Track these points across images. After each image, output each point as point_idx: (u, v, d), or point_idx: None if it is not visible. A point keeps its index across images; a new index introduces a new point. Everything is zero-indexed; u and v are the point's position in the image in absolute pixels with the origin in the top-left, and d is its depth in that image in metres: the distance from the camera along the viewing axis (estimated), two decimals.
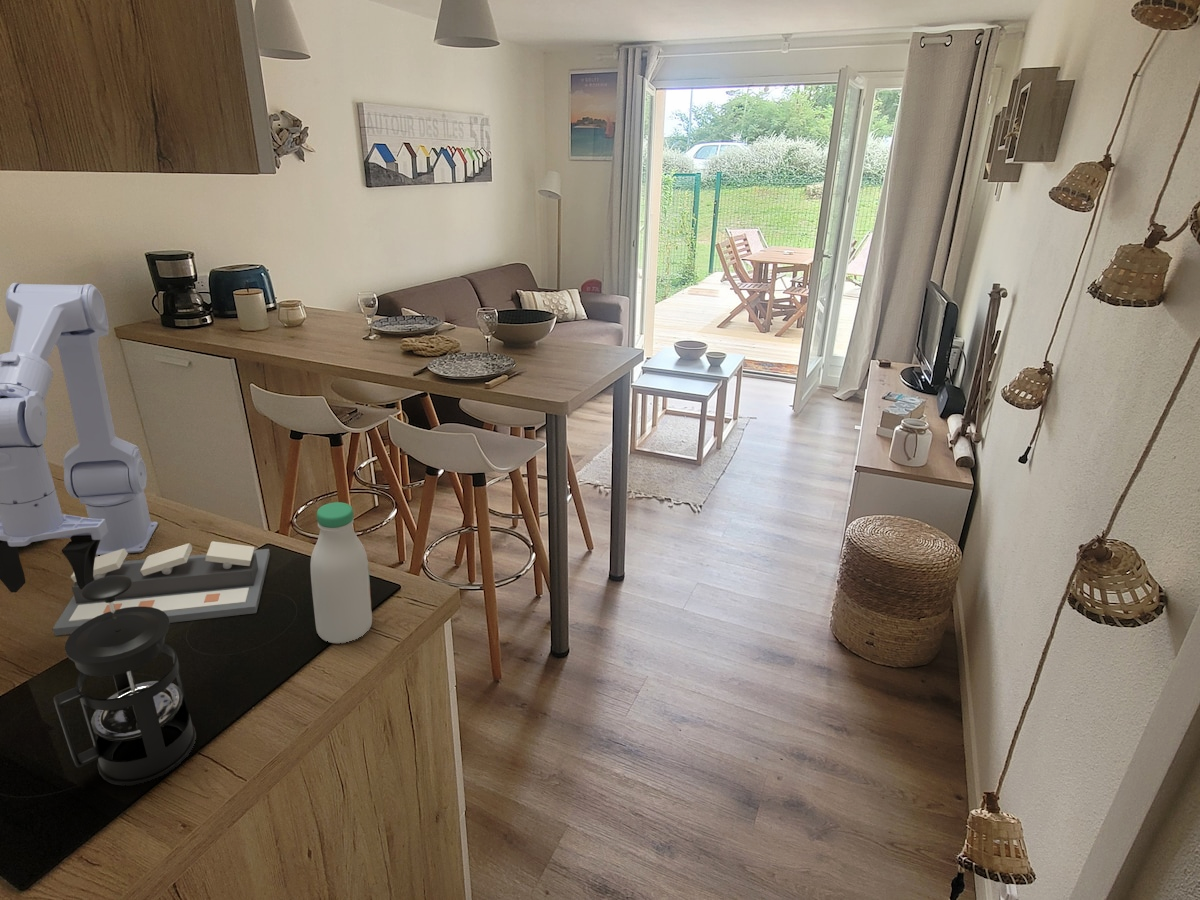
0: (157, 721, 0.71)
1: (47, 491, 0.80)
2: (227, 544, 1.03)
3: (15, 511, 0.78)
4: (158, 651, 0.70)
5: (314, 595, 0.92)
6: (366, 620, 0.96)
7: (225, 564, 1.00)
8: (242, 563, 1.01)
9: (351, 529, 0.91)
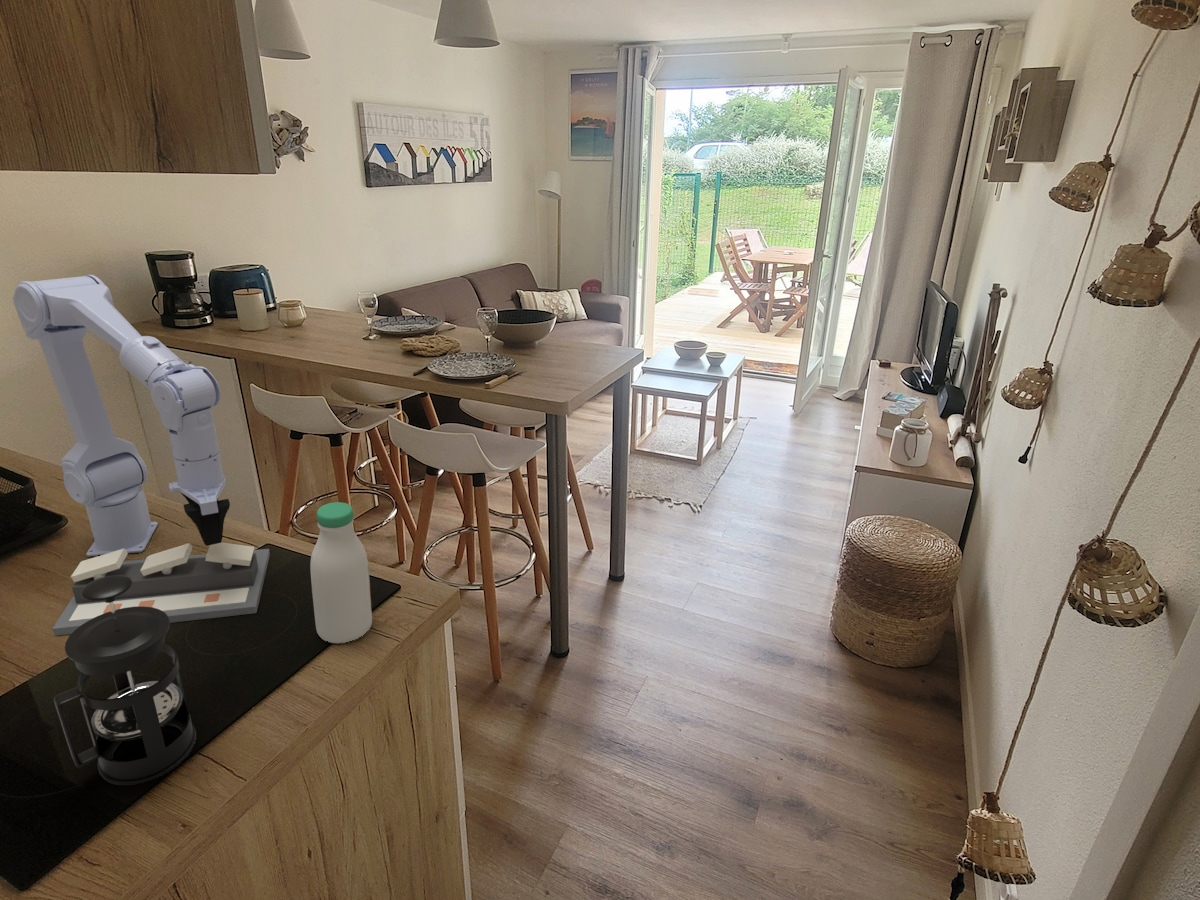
0: (157, 721, 0.71)
1: None
2: (227, 544, 1.03)
3: (174, 463, 0.93)
4: (158, 651, 0.70)
5: (314, 595, 0.92)
6: (366, 620, 0.96)
7: (225, 564, 1.00)
8: (242, 563, 1.01)
9: (351, 529, 0.91)
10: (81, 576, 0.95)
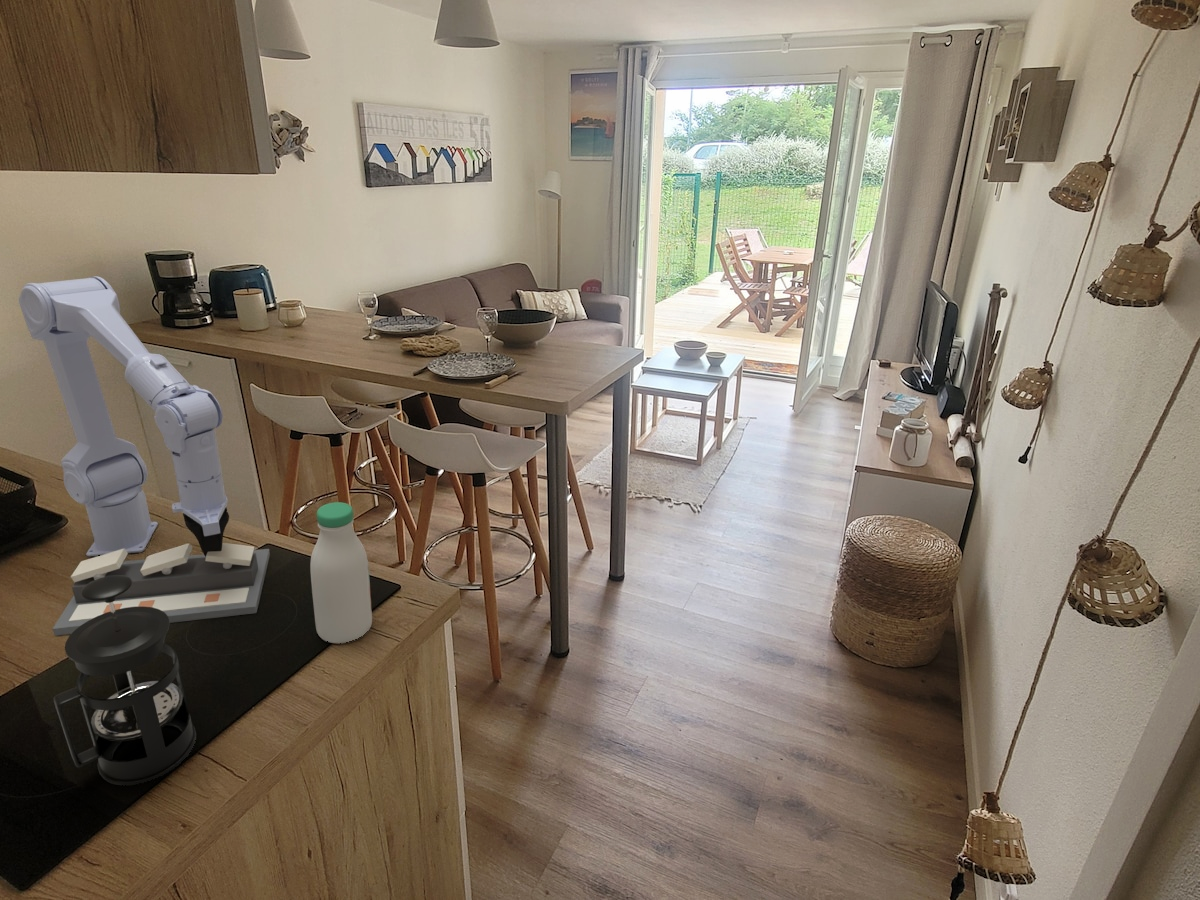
0: (157, 721, 0.71)
1: None
2: (227, 544, 1.03)
3: (177, 484, 0.94)
4: (158, 651, 0.70)
5: (314, 595, 0.92)
6: (366, 620, 0.96)
7: (225, 564, 1.00)
8: (242, 563, 1.01)
9: (351, 529, 0.91)
10: (81, 576, 0.95)
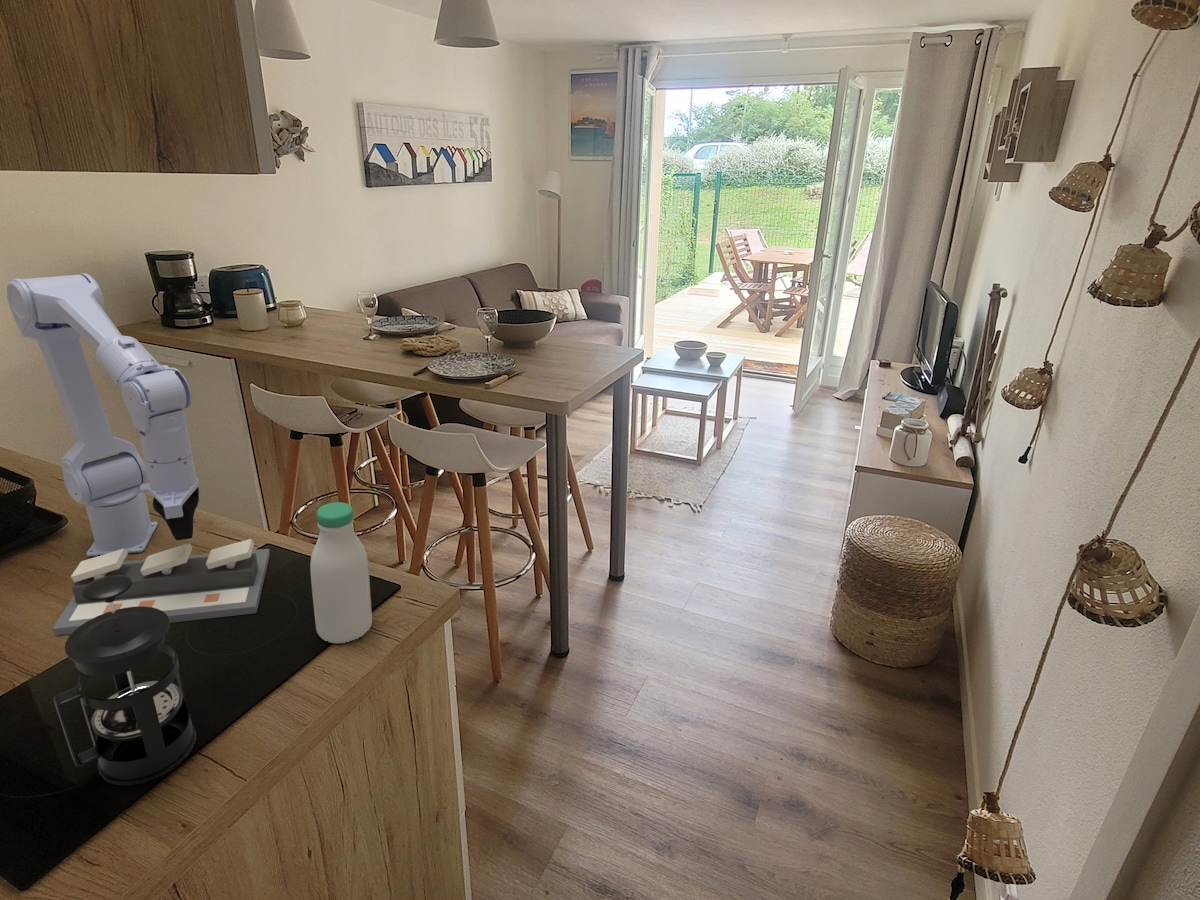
0: (157, 721, 0.71)
1: None
2: (225, 546, 1.03)
3: None
4: (158, 651, 0.70)
5: (314, 595, 0.92)
6: (366, 620, 0.96)
7: (228, 565, 1.01)
8: (242, 557, 1.01)
9: (351, 529, 0.91)
10: (81, 576, 0.95)
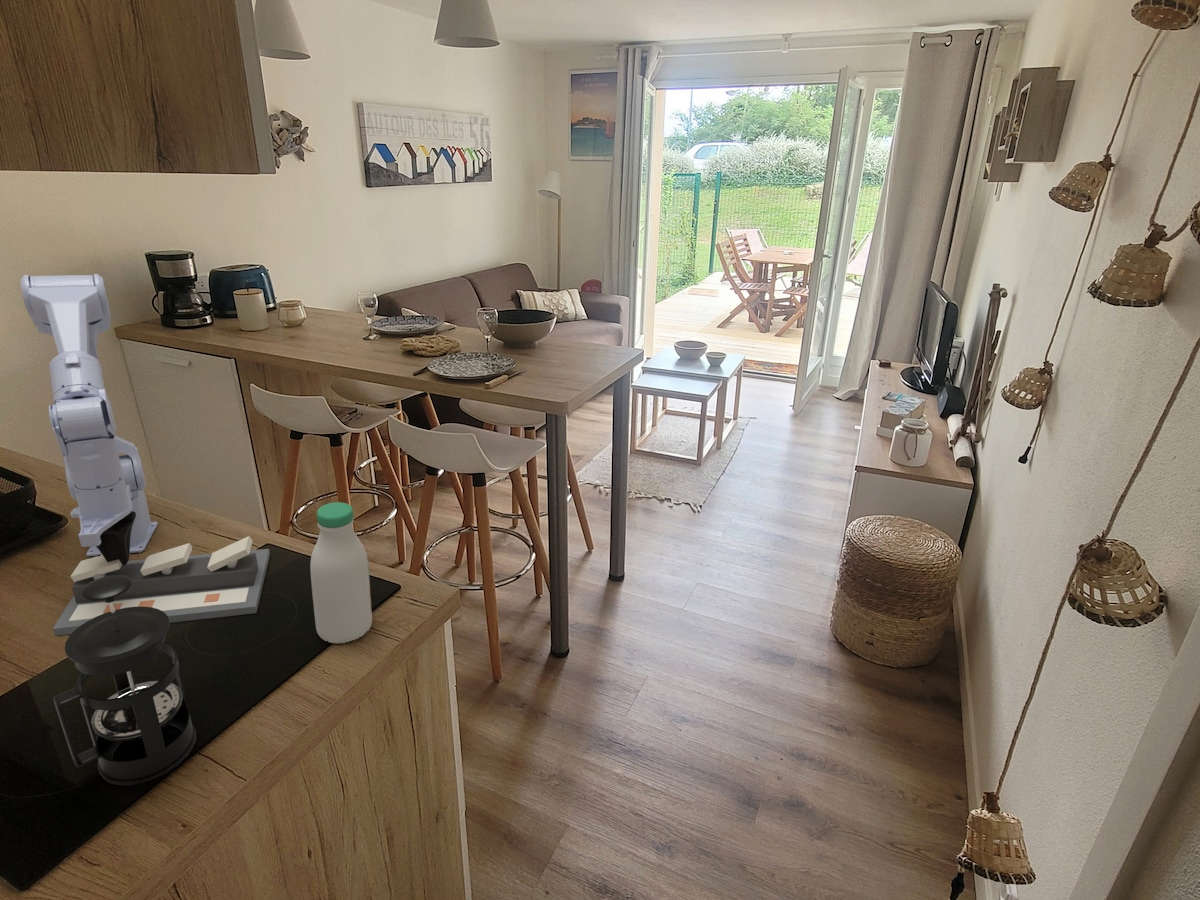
0: (157, 721, 0.71)
1: (120, 476, 0.92)
2: (225, 547, 1.03)
3: None
4: (158, 651, 0.70)
5: (314, 595, 0.92)
6: (366, 620, 0.96)
7: (229, 564, 1.01)
8: (241, 555, 1.01)
9: (351, 529, 0.91)
10: (81, 576, 0.95)
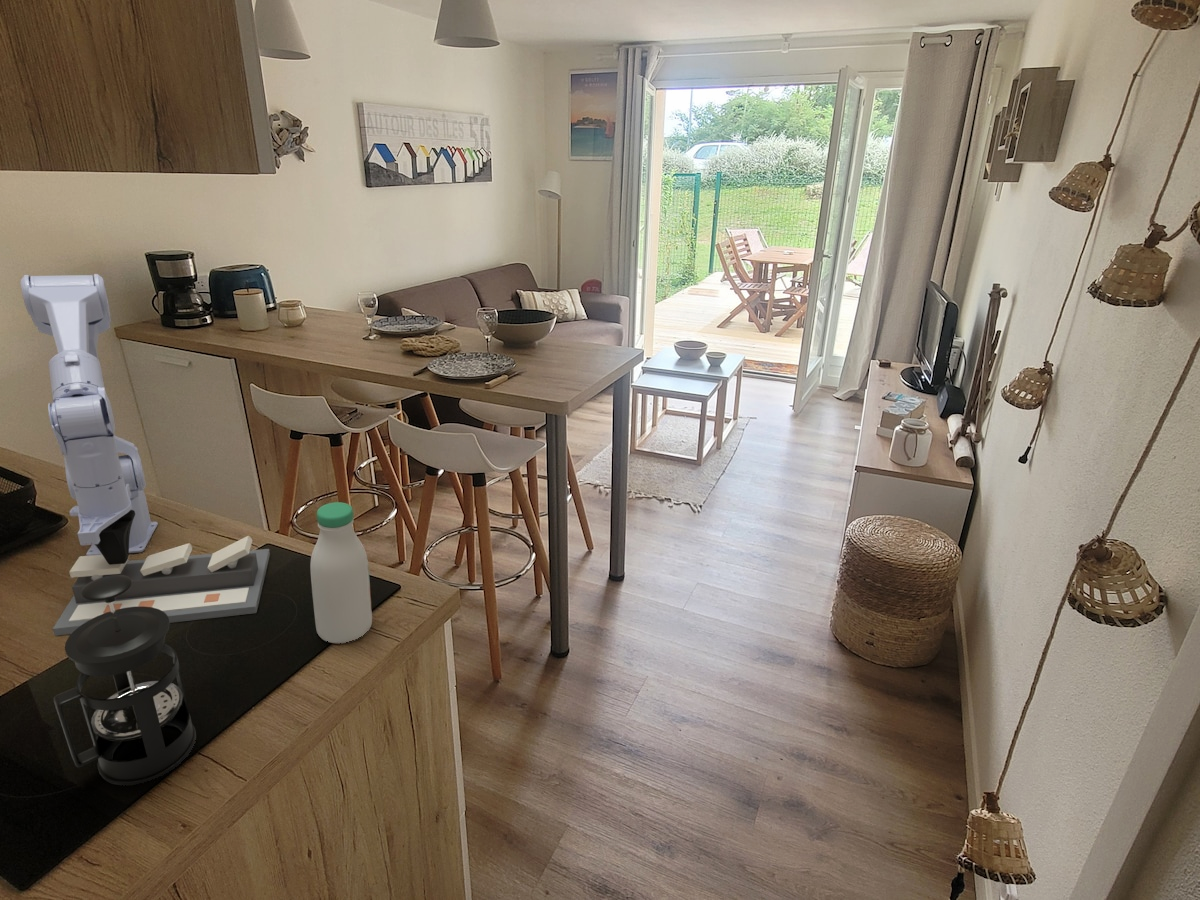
0: (157, 721, 0.71)
1: (120, 475, 0.92)
2: (225, 547, 1.03)
3: None
4: (158, 651, 0.70)
5: (314, 595, 0.92)
6: (366, 620, 0.96)
7: (229, 564, 1.01)
8: (241, 555, 1.01)
9: (351, 529, 0.91)
10: (80, 573, 0.94)
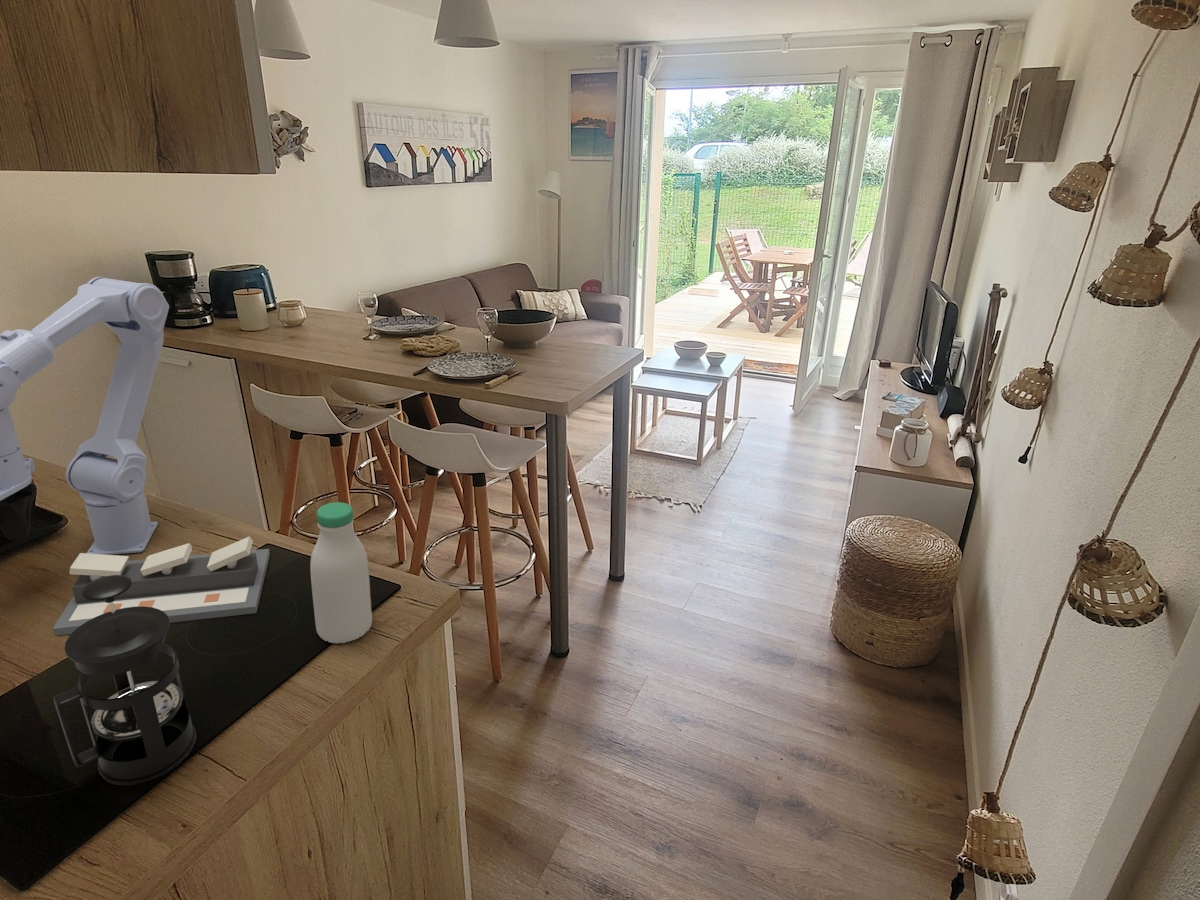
0: (157, 721, 0.71)
1: None
2: (225, 547, 1.03)
3: None
4: (158, 651, 0.70)
5: (314, 595, 0.92)
6: (366, 620, 0.96)
7: (229, 564, 1.01)
8: (241, 556, 1.01)
9: (351, 529, 0.91)
10: (80, 571, 0.94)
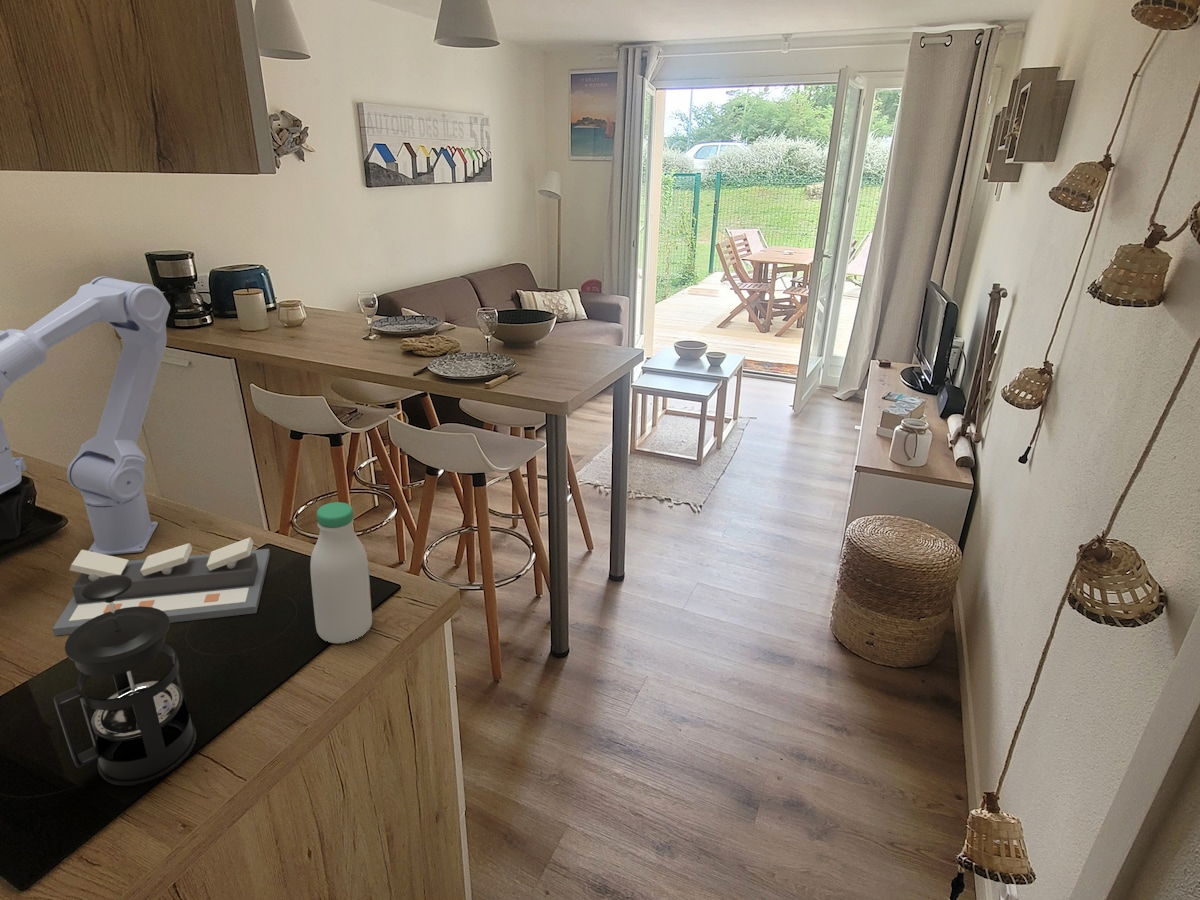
0: (157, 721, 0.71)
1: None
2: (225, 547, 1.03)
3: None
4: (158, 651, 0.70)
5: (314, 595, 0.92)
6: (366, 620, 0.96)
7: (228, 564, 1.01)
8: (241, 556, 1.01)
9: (351, 529, 0.91)
10: (80, 569, 0.94)
